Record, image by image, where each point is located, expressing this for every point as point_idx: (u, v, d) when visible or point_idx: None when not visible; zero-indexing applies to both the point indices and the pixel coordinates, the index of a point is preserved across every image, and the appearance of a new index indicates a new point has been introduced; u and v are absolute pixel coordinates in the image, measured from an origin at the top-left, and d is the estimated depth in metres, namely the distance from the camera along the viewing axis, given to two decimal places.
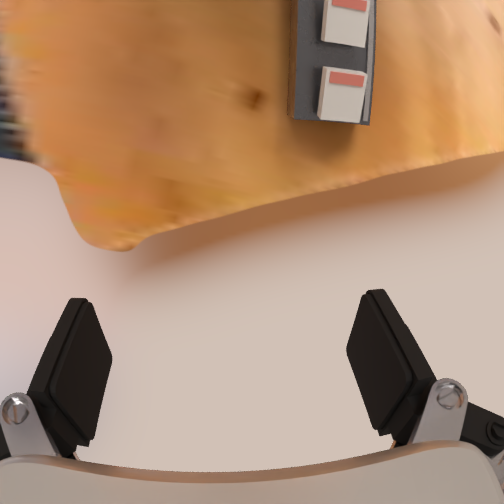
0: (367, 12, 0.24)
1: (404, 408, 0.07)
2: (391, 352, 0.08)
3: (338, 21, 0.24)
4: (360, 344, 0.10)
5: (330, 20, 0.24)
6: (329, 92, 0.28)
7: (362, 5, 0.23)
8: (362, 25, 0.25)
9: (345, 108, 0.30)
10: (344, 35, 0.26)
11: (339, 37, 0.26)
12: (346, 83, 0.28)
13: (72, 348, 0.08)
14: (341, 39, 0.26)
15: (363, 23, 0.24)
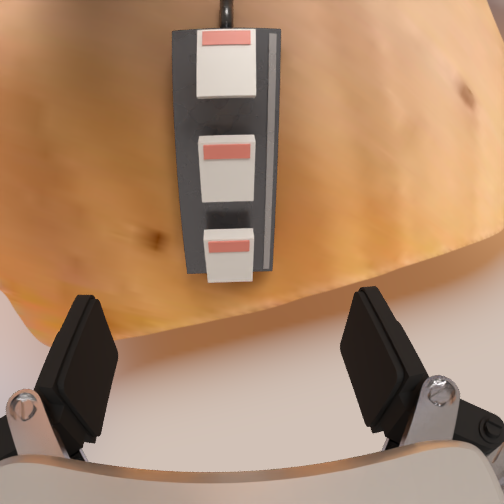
0: (252, 158, 0.25)
1: (395, 405, 0.07)
2: (382, 349, 0.08)
3: (215, 177, 0.26)
4: (353, 341, 0.10)
5: (205, 177, 0.26)
6: (211, 260, 0.30)
7: (245, 150, 0.24)
8: (247, 175, 0.26)
9: (233, 271, 0.31)
10: (225, 192, 0.27)
11: (219, 195, 0.27)
12: (229, 250, 0.29)
13: (80, 344, 0.08)
14: (222, 197, 0.27)
15: (248, 173, 0.26)
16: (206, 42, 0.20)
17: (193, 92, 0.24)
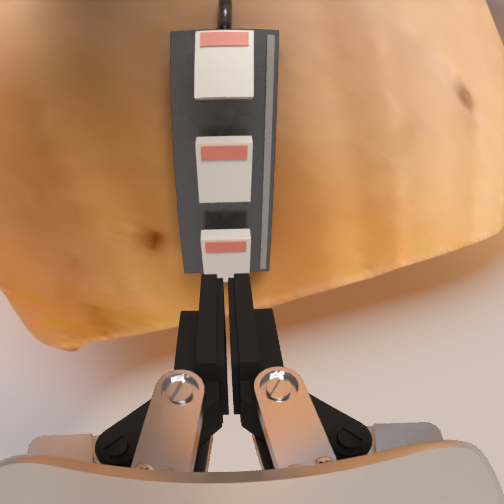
0: (250, 159, 0.25)
1: (240, 392, 0.08)
2: (230, 333, 0.09)
3: (212, 178, 0.26)
4: None
5: (202, 178, 0.26)
6: (208, 260, 0.30)
7: (242, 151, 0.24)
8: (244, 176, 0.26)
9: (230, 271, 0.31)
10: (222, 192, 0.27)
11: (216, 195, 0.27)
12: (226, 250, 0.29)
13: (223, 320, 0.09)
14: (219, 197, 0.27)
15: (245, 174, 0.26)
16: (204, 44, 0.20)
17: (191, 93, 0.24)
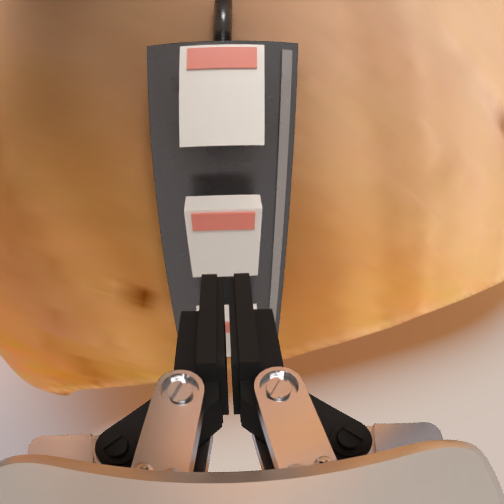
0: (258, 228, 0.19)
1: (240, 392, 0.08)
2: (230, 334, 0.09)
3: (208, 250, 0.20)
4: None
5: (195, 251, 0.20)
6: None
7: (248, 219, 0.19)
8: (250, 248, 0.20)
9: None
10: (222, 266, 0.21)
11: (214, 269, 0.21)
12: (227, 331, 0.23)
13: (223, 320, 0.09)
14: (218, 271, 0.21)
15: (252, 245, 0.20)
16: (192, 66, 0.14)
17: (177, 132, 0.19)
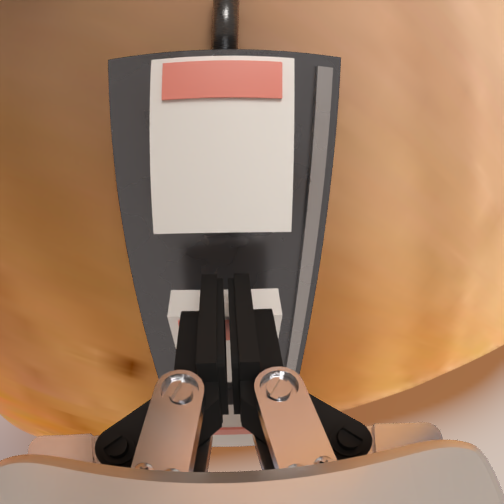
0: None
1: (239, 392, 0.08)
2: (230, 334, 0.09)
3: None
4: None
5: None
6: None
7: None
8: None
9: (236, 441, 0.19)
10: None
11: None
12: (230, 433, 0.17)
13: (223, 320, 0.09)
14: None
15: None
16: (171, 94, 0.08)
17: None
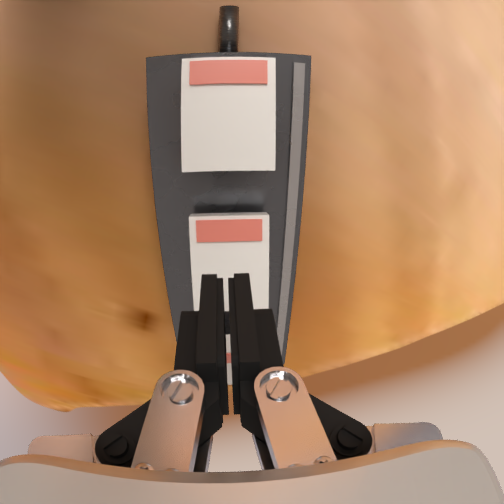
0: (266, 241, 0.18)
1: (240, 392, 0.08)
2: (230, 333, 0.09)
3: (212, 271, 0.18)
4: None
5: (198, 272, 0.18)
6: None
7: (255, 229, 0.18)
8: (259, 269, 0.18)
9: None
10: (227, 295, 0.19)
11: None
12: None
13: (223, 320, 0.09)
14: None
15: (260, 265, 0.18)
16: (195, 81, 0.13)
17: (179, 153, 0.17)
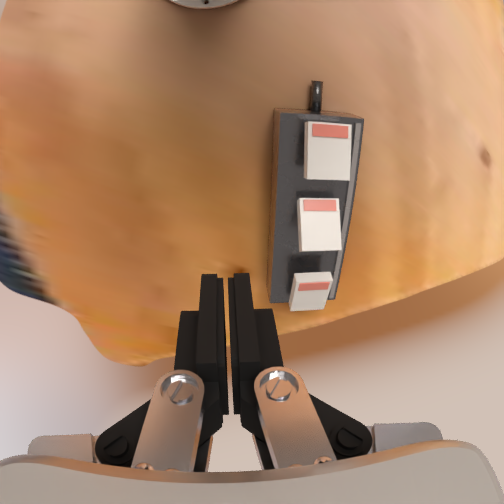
0: (338, 211, 0.34)
1: (240, 392, 0.08)
2: (230, 334, 0.09)
3: (312, 227, 0.33)
4: None
5: (304, 227, 0.33)
6: (298, 295, 0.38)
7: (332, 205, 0.34)
8: (335, 226, 0.34)
9: (311, 302, 0.39)
10: (320, 241, 0.33)
11: (315, 244, 0.33)
12: (313, 289, 0.37)
13: (223, 320, 0.09)
14: (318, 245, 0.33)
15: (336, 224, 0.34)
16: (315, 134, 0.28)
17: (294, 167, 0.33)
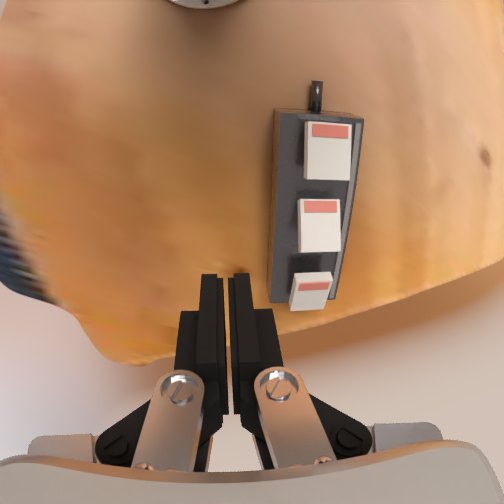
0: (338, 213, 0.34)
1: (240, 392, 0.08)
2: (230, 334, 0.09)
3: (312, 228, 0.33)
4: None
5: (304, 229, 0.33)
6: (298, 295, 0.38)
7: (333, 206, 0.34)
8: (335, 228, 0.34)
9: (311, 302, 0.39)
10: (319, 242, 0.34)
11: (315, 245, 0.34)
12: (313, 289, 0.37)
13: (223, 320, 0.09)
14: (317, 247, 0.34)
15: (336, 225, 0.34)
16: (315, 134, 0.28)
17: (294, 167, 0.33)
